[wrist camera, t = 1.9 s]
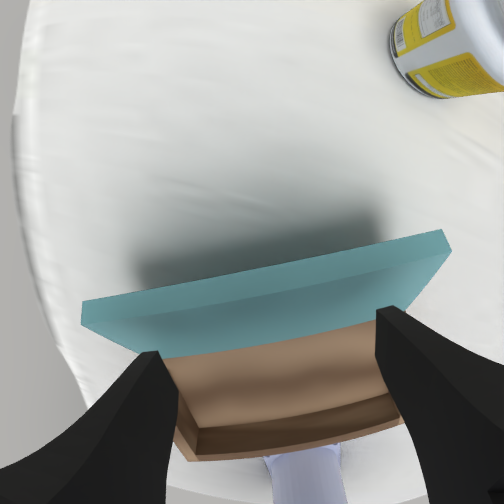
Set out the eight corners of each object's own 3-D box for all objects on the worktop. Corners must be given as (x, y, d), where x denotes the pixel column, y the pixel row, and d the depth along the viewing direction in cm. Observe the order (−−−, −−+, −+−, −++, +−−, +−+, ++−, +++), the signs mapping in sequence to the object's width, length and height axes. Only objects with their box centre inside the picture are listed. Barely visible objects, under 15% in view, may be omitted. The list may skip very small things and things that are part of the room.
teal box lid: (402, 313, 19) (452, 251, 11) (155, 361, 20) (80, 324, 12) (397, 297, 19) (441, 228, 12) (154, 345, 20) (82, 301, 13)
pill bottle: (467, 102, 16) (593, 100, 5) (396, 99, 16) (532, 75, 5) (448, 22, 14) (555, -19, 3) (375, 11, 14) (472, -70, 3)
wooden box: (390, 382, 24) (409, 421, 19) (194, 418, 25) (187, 461, 20) (394, 297, 21) (424, 334, 16) (158, 343, 22) (140, 388, 17)
